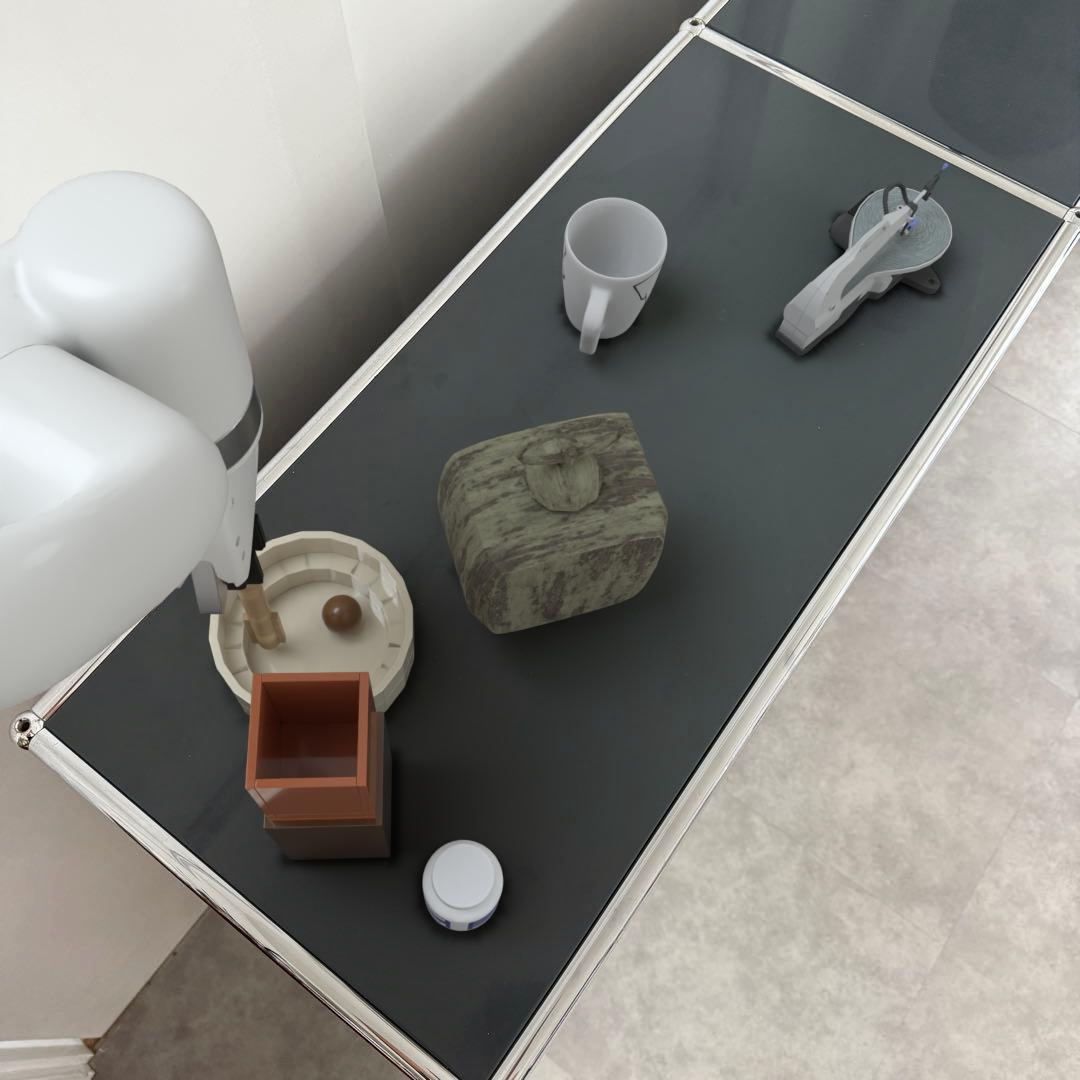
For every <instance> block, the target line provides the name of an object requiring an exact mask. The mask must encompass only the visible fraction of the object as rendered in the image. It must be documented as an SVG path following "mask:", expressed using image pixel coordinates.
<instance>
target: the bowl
mask: <svg viewBox="0 0 1080 1080" xmlns="http://www.w3.org/2000/svg"><path fill="white" fill-rule="evenodd" d="M256 554H257V557H258V559H259V562H260V565H261V568H262V571H263V574H264V578H263V583H262V587H263V590H264V592H265V595H266V598H267V601H268V604H269V607H270V609H271V612H278V614H279V617H280V620H281V623H282V626H283V629H284V632H285V634H286V643H279V645H278V646H277V647H276V648H274V649H271V650H266V649H263V648H262V647H261V646H260V645H259V644H253V643H252V641H251V638H250V636H249V634H248V631H247V629H246V627H245V624H244V622H243V613H246V611H245V609H244V607H243V604H242V602H241V599H240V597H239V595H238V592H237V590H228V595H227V600H226V606H225V612H224V614H210V617H209V627H208V642H209V645H210V650H211V653H212V656H213V661H214V665H215V667H216V670H217V672H218V673H219V675H220V677H221V679H223V681H224V683H225V684H226V687H227V688H228V690H229V692H231V694H232V696H233V697H234V698H235V700H236V701H237V702H238V704H239V705H240V707H241V709H242V710H243V712H244V713H246V715H248V716H249V717H250V707H251V692H252V677H253V673H262V674H263V673H315V672H359V673H360V672H369V676H370V681H371V687H372V692H373V697H374V703H375V708H376V712H384V713H385V712H386V711H387V710H388V709H390V707H391V705H392V704H393V703H394V701H395V700H396V698H398V697H399V695H400V694H401V692H402V691H403V690H404V688H405V687H406V684H407V681H408V678H409V675H410V673H411V669H412V666H413V665H414V661H415V620H414V618H415V617H414V605H413V602H412V599H411V597H410V594H409V591H408V588H407V585H406V582H405V580H404V578H403V576H402V575H401V574H400V573H399V571H398V570H397V569H396V567H395V566H394V565H393V563H392V562H391V561H390V560H389V558H388V557H387V556H386V555H385V554H383V553H382V552H380V551H379V550H377V549H376V548H375V547H373V546H371V545H370V544H368V543H367V542H365V541H364V540H362V539H359V538H357V537H352V536H349V535H346V534H343V533H338V532H335V531H331V530H301V531H298V532H294V533H290V534H287V535H284V536H279V537H277V538H273V539H269V541H266V547H265V548H263V550H262V551H256ZM336 595H348V596H351V597H352V598H354V599H355V600H356V601H357V602H358V603H359V605H360V607H361V610H362V619H361V622H360V624H359V626H358V627H357V628H356V629H355V630H354V631H352V632H351V633H348V634H344V635H339V634H335V633H332V632H331V631H329V630H328V629H327V628H326V627H325V625H324V623H323V621H322V609H323V606H324V604H325V603H326V602H327V601H328V600H329V599H330V598H332V597H333V596H336Z"/></svg>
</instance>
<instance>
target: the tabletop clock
mask: <svg viewBox="0 0 1080 1080" xmlns="http://www.w3.org/2000/svg"><path fill="white" fill-rule="evenodd" d="M436 501H437V502H436V503H437V507H438V513H439V514H438V515H439V519H440V521H441V525H442V528H443V531H444V535H445V537H446V541H447V545H448V547H449V550H450V554H451V558H452V561H453V564H454V567H455V571H456V574H457V578H458V581H459V584H460V587H461V591H462V593H463V597H464V601H465V603H466V606H467V608H468V611H469V612H470V613H471V615H473V616H474V617H475V618H476V619H477V620H478V621H479V622H480V623H482V624H483V625H484V626H485V627H486V628H487V629H488V630H489V631H490V632H491V633H493V634H495V635H500V634H507V633H513V632H518V631H522V630H526V629H530V628H533V627H537V626H542V625H546V624H550V623H554V622H557V621H561V620H565V619H569V618H573V617H576V616H580V615H583V614H586V613H590V612H593V611H597V610H600V609H604V608H607V607H611V606H614V605H617V604H619V603H622V602H625V601H627V600H630V599H632V598H634V597H635V596H636V595H638V593H640V592H641V591H642V590H643V589H644V588H645V586H646V585H647V583H648V581H649V580H650V578H651V577H652V575H653V573H654V572H655V570H656V568H657V566H658V563H659V561H660V558H661V555H662V552H663V549H664V545H665V538H666V533H667V527H668V521H669V514H668V510H667V507H666V504H665V502H664V500H663V496H662V495H661V491H660V489H659V486H658V485H657V482H656V480H655V477H654V474H653V472H652V468H651V466H650V464H649V461H648V458H647V455H646V453H645V451H644V449H643V446H642V444H641V441H640V438H639V436H638V433H637V430H636V428H635V426H634V422H633V421H632V419H631V417H630V415H629V414H628V412H605V413H597V414H591V415H585V416H580V417H576V418H570V419H565V420H561V421H560V420H559V421H555V422H550V423H545V424H541V425H537V426H532V427H529V428H525V429H522V430H518V431H514V432H510V433H507V434H503V435H500V436H496V437H492V438H489V439H486V440H483V441H480V442H477V443H473V444H471V445H469V446H467V447H465V448H462V449H460V450H458V451H455V452H453V454H452V455H451V456H450V457H449V460H447V462H446V463H445V464H444V467H443V469H442V471H441V473H440V477H439V483H438V488H437V495H436Z"/></svg>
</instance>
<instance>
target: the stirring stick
mask: <svg viewBox="0 0 1080 1080" xmlns="http://www.w3.org/2000/svg"><path fill="white" fill-rule="evenodd" d="M237 592H238V595H239V597H240V599H241V602H242V604H243V607H244V609H245V611H246V613H243V622H244V624H245V627H246V629H247V631H248V634H249V636H250V638H251V641H252V643H253V644H259V645H260V646H261V647H262V648H263V649H266V650H271V649H274V648H276V647H277V646H278V645H279V643H286V634H285V632H284V629H283V626H282V623H281V620H280V617H279V614H278V612H271V609H270V607H269V604H268V601H267V598H266V595H265V592H264V590H263V587H262V584H247V588H246V589H243V590H237Z"/></svg>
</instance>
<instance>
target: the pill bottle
mask: <svg viewBox="0 0 1080 1080" xmlns="http://www.w3.org/2000/svg"><path fill="white" fill-rule="evenodd" d="M421 883H422V884H421V885H422V893H423V898H424V902H425V906H426V908H427V910H428V912H429V914H430V915H431V917H432V918H433V919H434V920H435V921H436V923H438V924H439V925H441V926H443V927H445V928H447V929H449V930H452V931H456V932H457V931H458V932H464V931H465V932H467V931H470V930H474V929H477V928H479V927H480V926H482V925H484V924H486V922H487V921H488V920H489V919H490V918H491V917H492V916H493V914H495V913H494V912H495V911H496V909H497V907H498V905H499V901H500V898H501V896H502V892H503V887H504V876H503V870H502V866H501V864H500V862H499V860H498V858H497V856H496V855H495V854H494V853H493V852H492V851H491V850H490V849H489V848H488V847H487V846H485V845H483V844H482V843H480V842H477V841H475V840H470V839H457V840H453V841H450V842H447V843H445V844H443V845H442V846H440V847H439V848H438V849H437V850H435V851H434V853H433V854H432V855H431V856H430V858H429V859H428V860H427V863H426V865H425V867H424V870H423V873H422V881H421Z"/></svg>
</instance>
